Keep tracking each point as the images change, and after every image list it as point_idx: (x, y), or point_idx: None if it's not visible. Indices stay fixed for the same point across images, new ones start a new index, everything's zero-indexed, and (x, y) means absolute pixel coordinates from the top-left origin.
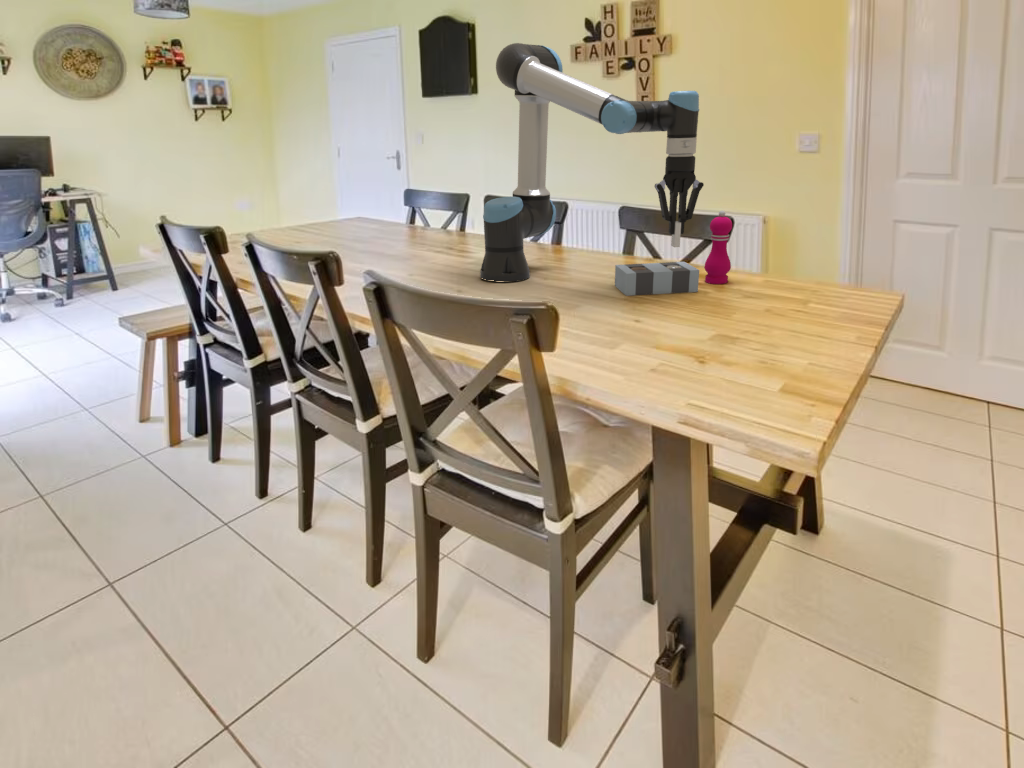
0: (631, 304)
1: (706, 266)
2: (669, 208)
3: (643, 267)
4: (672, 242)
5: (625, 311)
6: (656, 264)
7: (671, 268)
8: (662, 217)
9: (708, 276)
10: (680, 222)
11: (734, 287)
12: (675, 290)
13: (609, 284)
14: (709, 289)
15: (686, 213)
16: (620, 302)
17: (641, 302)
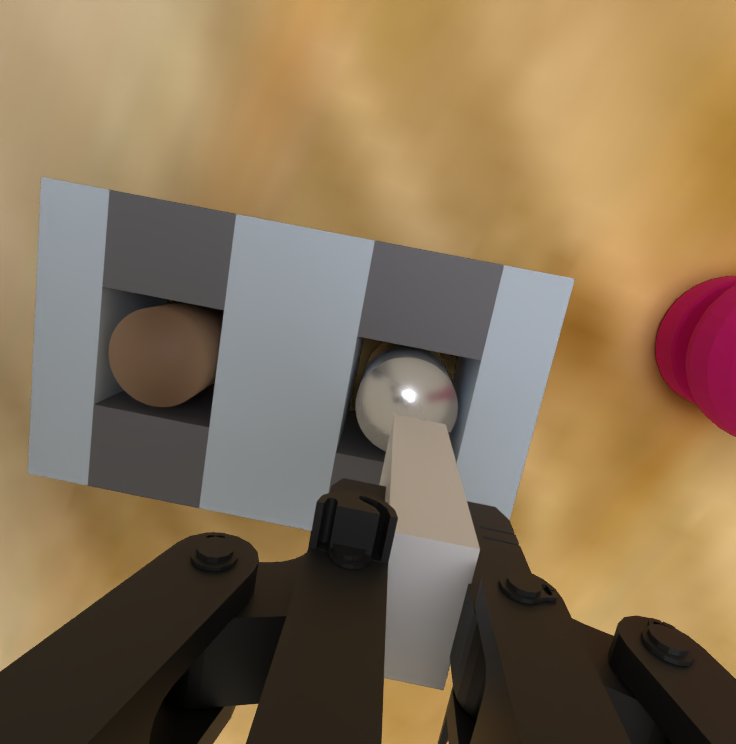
0: (77, 574)
1: (699, 358)
2: (252, 725)
3: (201, 341)
4: (386, 457)
5: (17, 655)
6: (328, 292)
7: (368, 437)
8: (171, 551)
9: (679, 352)
10: (446, 668)
11: (713, 495)
12: None
13: (108, 145)
14: (564, 480)
15: (663, 718)
16: (42, 526)
17: (131, 563)
